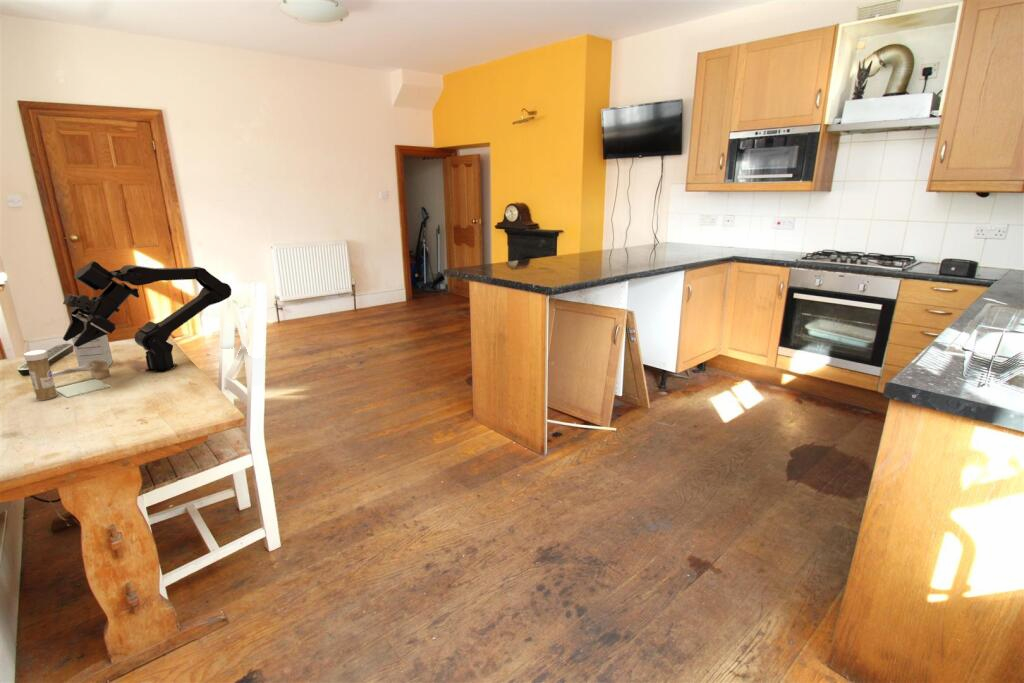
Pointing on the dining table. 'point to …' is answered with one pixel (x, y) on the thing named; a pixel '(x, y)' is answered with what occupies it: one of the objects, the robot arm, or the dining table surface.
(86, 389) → the pad
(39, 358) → the sprinkles bottle
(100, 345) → the supplement box
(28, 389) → the dining table surface
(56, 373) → the handrail
